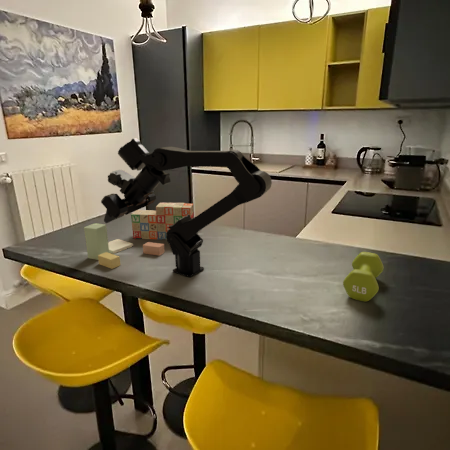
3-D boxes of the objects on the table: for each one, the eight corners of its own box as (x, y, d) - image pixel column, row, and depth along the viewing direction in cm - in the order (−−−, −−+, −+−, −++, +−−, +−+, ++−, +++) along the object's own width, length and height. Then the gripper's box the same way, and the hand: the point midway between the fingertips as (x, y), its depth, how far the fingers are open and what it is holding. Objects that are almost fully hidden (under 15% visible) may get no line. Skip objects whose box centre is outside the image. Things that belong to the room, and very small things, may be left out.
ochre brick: (120, 265, 99) (119, 256, 98) (112, 269, 97) (111, 259, 96) (107, 261, 102) (106, 252, 101) (99, 264, 100) (97, 255, 99)
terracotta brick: (164, 252, 109) (164, 244, 108) (159, 256, 106) (159, 247, 105) (148, 250, 111) (147, 241, 110) (143, 253, 108) (142, 245, 107)
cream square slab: (133, 247, 114) (133, 243, 113) (113, 255, 108) (113, 251, 107) (118, 242, 118) (117, 238, 118) (98, 250, 112) (97, 245, 111)
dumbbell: (352, 272, 95) (355, 248, 92) (382, 278, 91) (386, 253, 89) (339, 298, 81) (342, 270, 79) (375, 306, 77) (379, 278, 75)
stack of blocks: (132, 239, 121) (129, 205, 117) (138, 233, 127) (135, 201, 123) (191, 240, 119) (190, 207, 115) (194, 235, 125) (193, 202, 121)
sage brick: (109, 254, 107) (106, 224, 104) (99, 260, 103) (96, 229, 100) (97, 252, 108) (94, 223, 105) (88, 258, 104) (83, 227, 101)
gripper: (144, 157, 100) (117, 191, 107) (103, 165, 84) (73, 204, 91) (169, 185, 100) (140, 217, 107) (132, 198, 83) (101, 235, 90)
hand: (115, 217), depth 99 cm, fingers open, 9 cm apart
